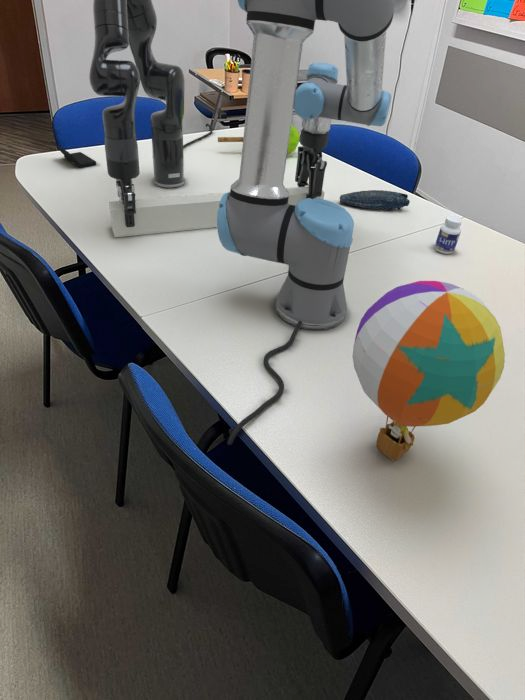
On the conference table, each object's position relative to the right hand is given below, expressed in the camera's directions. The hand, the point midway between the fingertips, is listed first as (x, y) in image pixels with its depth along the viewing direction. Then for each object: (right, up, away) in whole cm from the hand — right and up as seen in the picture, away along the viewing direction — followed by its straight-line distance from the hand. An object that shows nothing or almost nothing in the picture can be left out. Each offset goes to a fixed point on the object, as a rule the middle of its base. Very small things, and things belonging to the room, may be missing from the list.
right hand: (304, 212), depth 151 cm
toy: (+8, -56, -68) cm, 89 cm away
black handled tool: (-74, +21, +19) cm, 79 cm away
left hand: (-47, -7, -18) cm, 51 cm away
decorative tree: (-14, +32, +39) cm, 52 cm away
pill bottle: (+37, -13, -11) cm, 41 cm away
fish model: (+22, +4, +9) cm, 24 cm away
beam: (-23, -5, -8) cm, 25 cm away
